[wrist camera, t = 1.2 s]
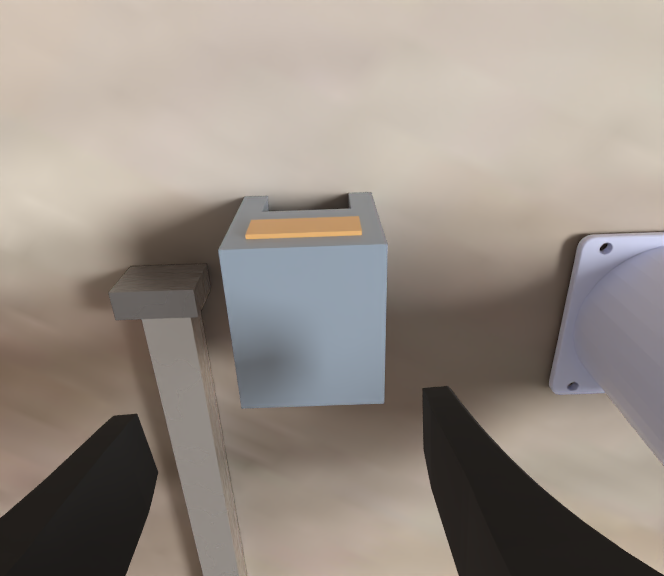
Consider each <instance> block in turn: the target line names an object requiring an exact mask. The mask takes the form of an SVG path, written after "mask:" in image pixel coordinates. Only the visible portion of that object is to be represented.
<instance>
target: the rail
mask: <svg viewBox="0 0 664 576" xmlns="http://www.w3.org/2000/svg"><path fill="white" fill-rule="evenodd" d="M210 290H211V287H210V281H209V274H208V268H207V264H183V265H154V266H130V268H129V269H128V270H127V271H126V272H125V274H124V275H123V276H122V277H121V278H120V279H119V281H118V282H117V283H116V284H115V285H114V287H113V288H112V289H111V290H110V291H109V292H108V294H109V297H110V301H111V305H112V308H113V312H114V316H115V320H135V319H142V323H143V327H144V332H145V336H146V340H147V344H148V348H149V352H150V356H151V361H152V365H153V369H154V373H155V377H156V381H157V386H158V390H159V394H160V398H161V402H162V406H163V411H164V415H165V419H166V423H167V427H168V431H169V436H170V440H171V444H172V448H173V452H174V456H175V460H176V465H177V469H178V473H179V477H180V481H181V485H182V490H183V494H184V498H185V502H186V506H187V510H188V515H189V519H190V523H191V527H192V531H193V535H194V540H195V544H196V548H197V552H198V556H199V560H200V564H201V569H202V573H203V576H247V572H246V566H245V561H244V555H243V549H242V543H241V538H240V532H239V526H238V521H237V515H236V509H235V504H234V498H233V492H232V486H231V481H230V475H229V469H228V464H227V458H226V452H225V447H224V441H223V435H222V429H221V424H220V418H219V412H218V407H217V401H216V395H215V390H214V384H213V378H212V372H211V367H210V361H209V355H208V350H207V344H206V338H205V333H204V327H203V321H202V315H201V310H202V308H203V306H204V303H205V301H206V299H207V297H208V294H209V292H210Z"/></svg>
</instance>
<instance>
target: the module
mask: <svg viewBox="0 0 664 576" xmlns="http://www.w3.org/2000/svg"><path fill="white" fill-rule="evenodd" d="M387 248H388V244H387V241H386V237H385V234H384V231H383V228H382V225H381V222H380V218H379V215H378V212H377V209H376V206H375V202H374V199H373V196H372V193H371V192H363V193H349V209H324V210H295V211H269V207H268V196H249V197H244V199H243V201H242V203H241V205H240V207H239V209H238V211H237V213H236V215H235V217H234V219H233V221H232V223H231V225H230V227H229V229H228V231H227V233H226V235H225V237H224V239H223V241H222V244H221V246H220V248H219V250H218V252H219V258H220V265H221V272H222V279H223V286H224V292H225V299H226V306H227V313H228V319H229V326H230V333H231V340H232V347H233V353H234V360H235V367H236V374H237V381H238V387H239V394H240V401H241V408H270V407H298V406H327V405H355V404H383V403H384V387H385V341H386V294H387Z"/></svg>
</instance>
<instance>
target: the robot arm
mask: <svg viewBox="0 0 664 576" xmlns="http://www.w3.org/2000/svg"><path fill="white" fill-rule="evenodd" d="M604 243H608V245H607V247H606V248H605V249H604V250H602V251H600V247H601V245H603V244H604ZM572 382H574V383H573V384H572V385H569V384H570V383H572ZM568 385H569V386H568ZM549 387H550V388H551V390H552V391H553V393H555V394H559V395H564V394H592V393H606V394H607V396H608V397H609V398H610V399H611V401H612V402H613V403H614V404H615V406H616V407H617V408H618V409H619V411H620V412H621V413H622V414H623V416H624V417H625V418H626V419H627V421H628V422H629V423H630V424H631V426H632V427H633V428H634V429H635V431H636V432H637V433H638V435H639V436H640V437H641V438H642V440H643V441H644V442H645V443H646V445H647V446H648V447H649V448H650V450H651V451H652V452H653V453H654V455H655V456H656V457H657V458H658V460H659V461H660V462H661V463H662V465H663V466H664V232H648V233H620V234H592V235H587V236H586V237H584V238H582V240H581V241H580V242H579V244H578V246H577V251H576V256H575V261H574V265H573V270H572V275H571V280H570V284H569V289H568V294H567V299H566V304H565V308H564V313H563V318H562V323H561V327H560V332H559V337H558V342H557V346H556V351H555V356H554V361H553V365H552V370H551V375H550V380H549ZM423 445H424V454H425V459H426V464H427V470H428V475H429V479H430V484H431V489H432V492H433V495H434V499H435V502H436V505H437V508H438V511H439V515H440V518H441V521H442V524H443V527H444V530H445V534H446V537H447V540H448V543H449V546H450V549H451V553H452V556H453V559H454V562H455V565H456V568H457V571H458V575H459V576H664V575H663V574H661V573H659V572H658V571H656V570H654V569H653V568H651V567H650V566H648V565H647V564H645V563H643V562H642V561H640V560H639V559H637V558H635V557H634V556H632V555H631V554H629V553H628V552H626V551H625V550H623V549H622V548H620V547H619V546H617V545H616V544H615V543H613V542H612V541H610V540H609V539H608V538H606V537H605V536H603V535H602V534H600V533H599V532H598V531H596V530H595V529H593V528H592V527H591V526H589V525H588V524H586V523H585V522H584V521H582V520H581V519H580V518H578V517H577V516H576V515H575V514H573V513H572V512H571V511H570V510H568V509H567V508H566V507H564V506H563V505H562V504H561V503H560V502H558V501H557V500H556V499H555V498H554V497H552V496H551V495H550V494H549V493H548V492H546V491H545V490H544V489H543V488H542V487H541V486H540V485H538V484H537V483H536V482H535V481H534V480H533V479H532V478H531V477H530V476H529V475H528V474H526V473H525V472H524V471H523V470H522V469H521V468H520V467H519V466H518V465H517V464H516V463H515V462H514V461H513V460H512V459H511V458H510V457H509V456H508V455H507V454H506V453H505V452H504V451H503V450H502V449H501V448H500V447H499V446H498V444H497V443H496V442H495V441H494V440H493V439H492V438H491V437H490V436H489V435H488V434H487V433H486V432H485V430H484V429H483V428H482V427H481V426H480V425H479V424H478V422H477V421H476V420H475V419H474V418H473V416H472V415H471V414H470V413H469V412H468V410H467V409H466V408H465V407H464V405H463V404H462V403H461V402H460V400H459V399H458V398H457V396H456V395H455V394H454V392H453V391H452V390H451V389H450V388H449V387H448V386H443V387H431V388H423ZM157 475H158V470H157V467H156V465H155V462H154V459H153V456H152V454H151V451H150V448H149V445H148V442H147V440H146V437H145V434H144V431H143V428H142V426H141V423H140V420H139V417H138V415H137V414H128V415H117V416H113V417H112V418H111V419H109V420H108V421H107V422H106V423H105V424H104V425H103V426H102V427H100V428H99V429H98V430H97V431H96V432H95V433H94V434H93V435H92V436H91V437H90V438H89V439H88V440H87V441H86V442H84V443H83V444H82V445H81V446H80V447H79V448H78V449H77V450H76V451H75V452H74V453H73V454H72V455H71V456H70V457H69V458H68V459H66V460H65V461H64V462H63V463H62V464H61V465H60V466H59V467H58V468H57V469H56V470H55V471H54V472H53V473H51V474H50V475H49V476H48V477H47V478H46V479H45V480H44V481H43V482H42V483H40V484H39V485H38V486H37V487H36V488H35V489H34V490H32V491H31V492H30V493H29V494H28V495H27V496H25V497H24V498H23V499H22V500H21V501H20V502H19V503H17V504H16V505H15V506H14V507H13V508H12V509H11V510H9V511H8V512H7V513H6V514H5V515H3V516H2V517H1V518H0V576H125V575H126V573H127V570H128V567H129V565H130V562H131V559H132V557H133V554H134V551H135V549H136V546H137V544H138V541H139V538H140V535H141V533H142V530H143V527H144V524H145V522H146V519H147V516H148V513H149V510H150V506H151V502H152V498H153V494H154V489H155V485H156V480H157Z"/></svg>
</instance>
